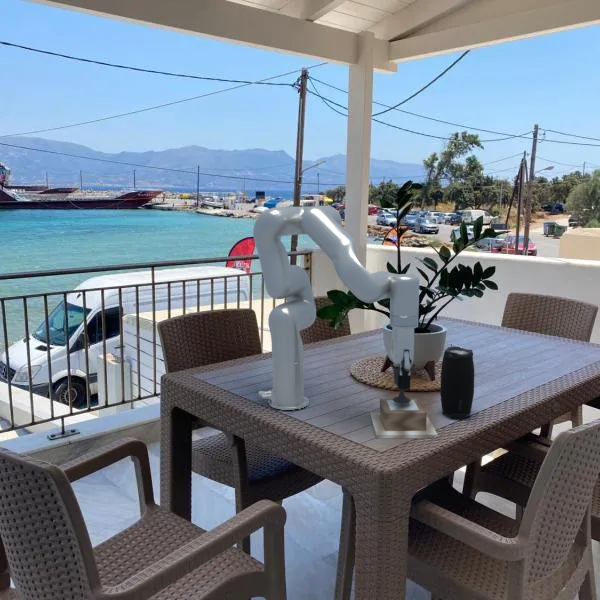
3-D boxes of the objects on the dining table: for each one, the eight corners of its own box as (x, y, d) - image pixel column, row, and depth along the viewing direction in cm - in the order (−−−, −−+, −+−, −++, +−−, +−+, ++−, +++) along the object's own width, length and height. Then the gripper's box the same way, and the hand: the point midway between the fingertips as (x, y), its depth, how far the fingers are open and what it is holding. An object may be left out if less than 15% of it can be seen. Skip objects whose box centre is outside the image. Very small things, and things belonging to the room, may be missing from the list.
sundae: (414, 405, 153) (416, 351, 150) (389, 403, 154) (390, 350, 152) (414, 396, 159) (415, 344, 157) (389, 395, 161) (391, 343, 158)
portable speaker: (442, 408, 171) (444, 344, 168) (474, 412, 168) (477, 347, 164) (436, 417, 164) (439, 351, 160) (470, 422, 160) (473, 355, 156)
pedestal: (376, 438, 150) (376, 416, 149) (369, 415, 166) (370, 395, 165) (437, 438, 150) (438, 415, 149) (425, 415, 166) (425, 394, 165)
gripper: (385, 314, 161) (384, 376, 164) (394, 327, 144) (393, 396, 148) (412, 314, 161) (410, 376, 164) (424, 327, 144) (422, 396, 148)
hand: (402, 385), depth 156 cm, fingers closed on sundae, 4 cm apart
